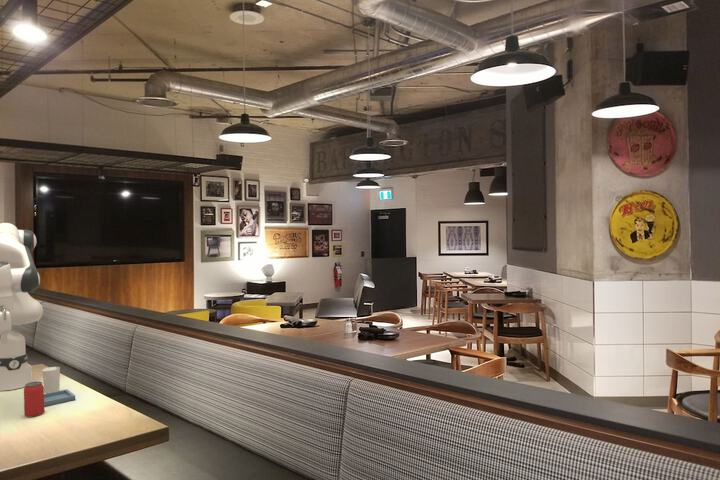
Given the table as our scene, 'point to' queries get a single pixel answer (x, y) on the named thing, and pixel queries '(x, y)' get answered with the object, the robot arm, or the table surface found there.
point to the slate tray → (58, 397)
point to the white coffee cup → (51, 379)
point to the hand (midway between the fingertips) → (1, 340)
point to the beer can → (33, 399)
